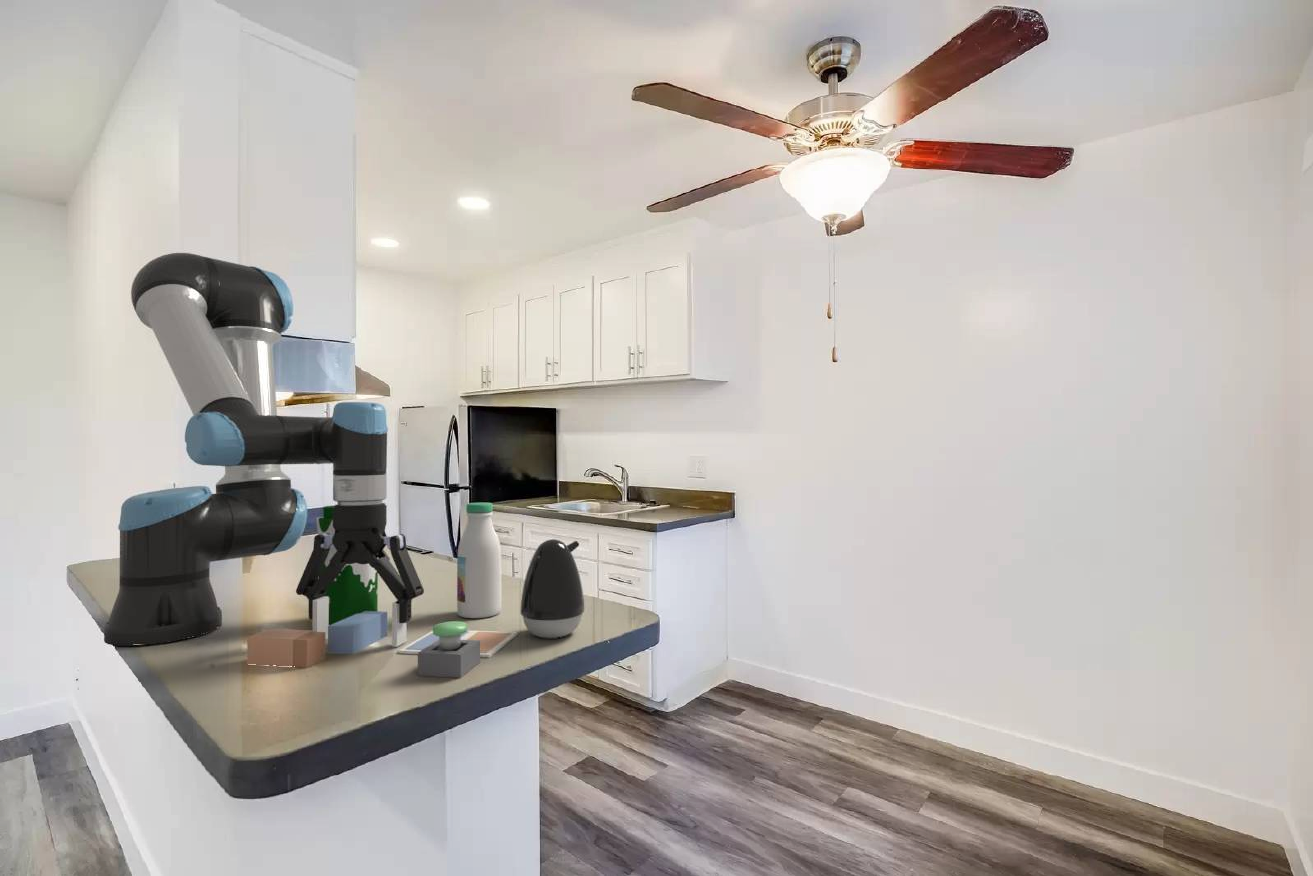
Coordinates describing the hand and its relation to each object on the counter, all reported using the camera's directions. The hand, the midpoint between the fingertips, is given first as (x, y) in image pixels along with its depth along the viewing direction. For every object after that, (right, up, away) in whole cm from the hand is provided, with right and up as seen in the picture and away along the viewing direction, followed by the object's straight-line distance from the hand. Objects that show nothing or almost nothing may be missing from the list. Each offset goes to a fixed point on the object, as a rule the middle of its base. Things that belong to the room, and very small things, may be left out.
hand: (359, 642), depth 97 cm
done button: (+17, +3, -11) cm, 21 cm away
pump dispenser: (+29, 0, +5) cm, 29 cm away
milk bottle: (+14, -1, +17) cm, 22 cm away
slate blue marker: (0, 0, 0) cm, 0 cm away
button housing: (+17, 0, -11) cm, 21 cm away
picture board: (+16, 0, 0) cm, 16 cm away
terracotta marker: (-6, 0, -8) cm, 10 cm away
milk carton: (-8, -1, +13) cm, 16 cm away
